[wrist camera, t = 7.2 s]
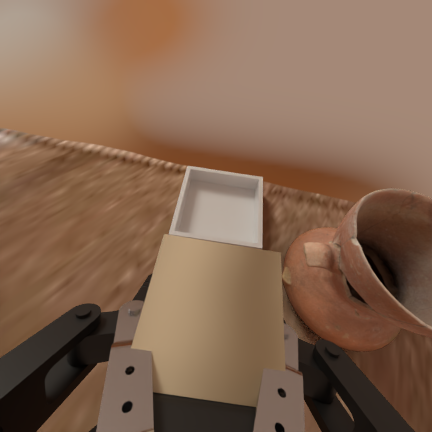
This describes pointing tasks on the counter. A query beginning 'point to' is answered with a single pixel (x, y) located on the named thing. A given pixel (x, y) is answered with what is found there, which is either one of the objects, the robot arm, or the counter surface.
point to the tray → (220, 208)
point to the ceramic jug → (366, 272)
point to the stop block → (212, 320)
